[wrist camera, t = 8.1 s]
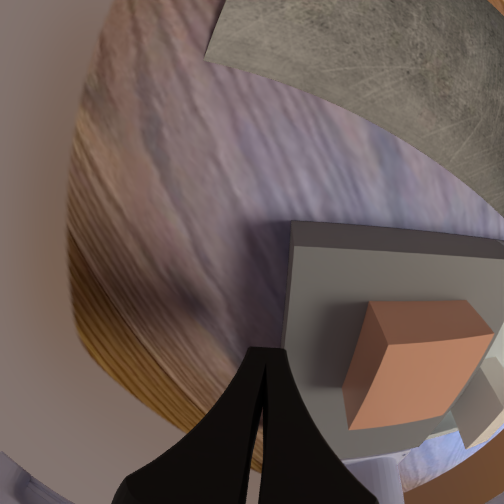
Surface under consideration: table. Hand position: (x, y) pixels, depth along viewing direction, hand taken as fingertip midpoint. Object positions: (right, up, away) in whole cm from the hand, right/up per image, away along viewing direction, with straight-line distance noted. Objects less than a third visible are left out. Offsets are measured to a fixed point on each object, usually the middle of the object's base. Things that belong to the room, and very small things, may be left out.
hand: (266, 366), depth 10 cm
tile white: (+15, -7, +2) cm, 17 cm away
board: (+7, -2, +4) cm, 9 cm away
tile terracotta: (+6, 0, 0) cm, 6 cm away
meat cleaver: (+15, +11, -1) cm, 18 cm away
